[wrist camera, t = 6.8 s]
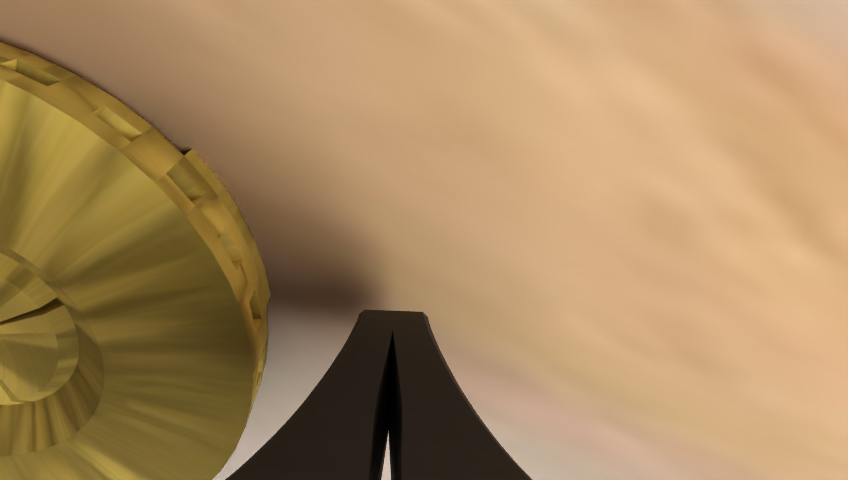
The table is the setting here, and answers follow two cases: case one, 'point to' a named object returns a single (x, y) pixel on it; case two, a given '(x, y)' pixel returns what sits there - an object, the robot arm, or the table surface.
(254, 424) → the table surface
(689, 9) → the table surface
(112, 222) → the gold round shallow dish
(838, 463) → the table surface
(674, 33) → the table surface
